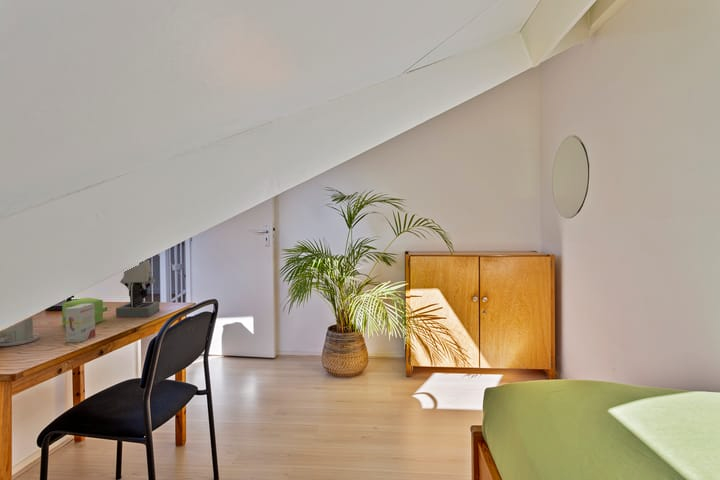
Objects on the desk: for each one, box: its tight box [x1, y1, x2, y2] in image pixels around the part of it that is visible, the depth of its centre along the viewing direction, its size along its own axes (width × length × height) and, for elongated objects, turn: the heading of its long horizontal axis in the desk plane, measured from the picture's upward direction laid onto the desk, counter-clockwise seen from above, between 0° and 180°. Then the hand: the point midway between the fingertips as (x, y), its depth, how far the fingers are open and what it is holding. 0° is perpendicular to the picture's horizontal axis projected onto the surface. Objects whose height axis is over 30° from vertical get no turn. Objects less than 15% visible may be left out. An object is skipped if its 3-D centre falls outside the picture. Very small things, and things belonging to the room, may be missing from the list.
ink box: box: [65, 303, 96, 343], centre depth 141 cm, size 9×5×12 cm, turn 0°
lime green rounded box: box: [61, 297, 108, 327], centre depth 160 cm, size 18×10×10 cm, turn 167°
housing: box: [115, 301, 160, 319], centre depth 179 cm, size 13×13×4 cm
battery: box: [129, 283, 144, 307], centre depth 178 cm, size 7×4×11 cm, turn 1°
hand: (138, 297), depth 178 cm, fingers closed on battery, 4 cm apart
